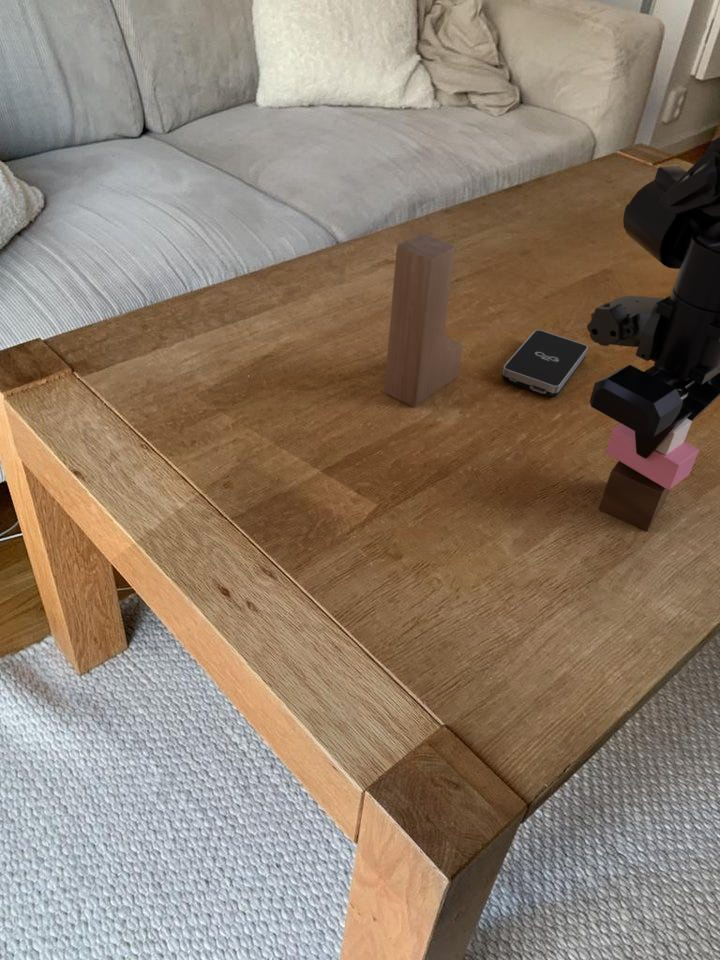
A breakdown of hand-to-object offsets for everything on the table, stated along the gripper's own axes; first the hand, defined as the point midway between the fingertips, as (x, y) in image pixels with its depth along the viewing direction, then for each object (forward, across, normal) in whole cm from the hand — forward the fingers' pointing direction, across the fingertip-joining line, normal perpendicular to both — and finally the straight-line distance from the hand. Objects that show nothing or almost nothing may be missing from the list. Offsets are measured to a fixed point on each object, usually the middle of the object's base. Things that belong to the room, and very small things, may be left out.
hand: (653, 447), depth 76 cm
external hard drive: (+8, -13, -21) cm, 26 cm away
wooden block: (+8, +1, -28) cm, 29 cm away
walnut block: (+8, 0, 0) cm, 8 cm away
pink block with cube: (+2, 0, 0) cm, 2 cm away
